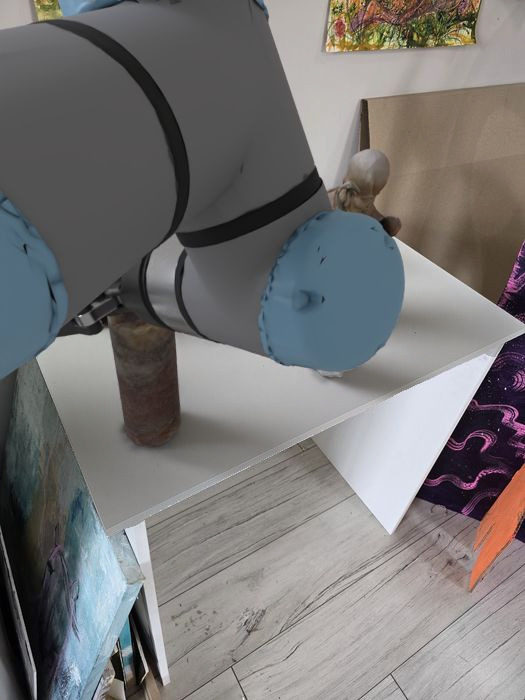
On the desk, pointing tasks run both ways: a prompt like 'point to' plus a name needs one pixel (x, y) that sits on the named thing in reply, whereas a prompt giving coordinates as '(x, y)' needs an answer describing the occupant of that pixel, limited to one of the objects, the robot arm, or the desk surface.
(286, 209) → the robot arm
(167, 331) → the candle
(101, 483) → the desk surface
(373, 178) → the sculpture
